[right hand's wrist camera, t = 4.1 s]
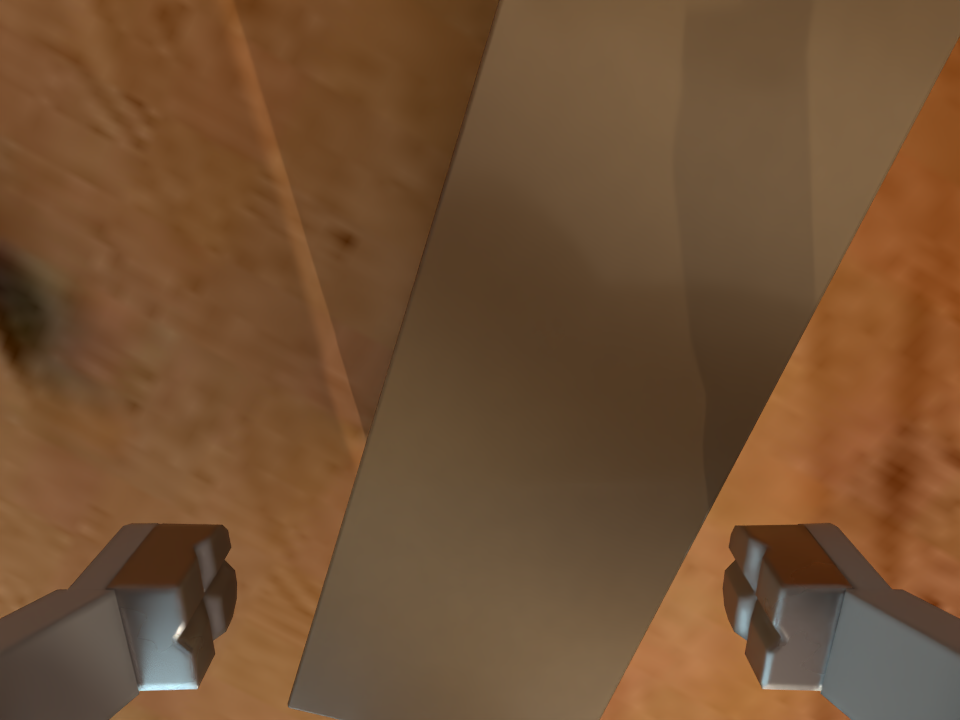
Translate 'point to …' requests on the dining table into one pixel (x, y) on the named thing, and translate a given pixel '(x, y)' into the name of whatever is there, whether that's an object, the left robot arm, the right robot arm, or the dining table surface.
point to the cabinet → (600, 335)
